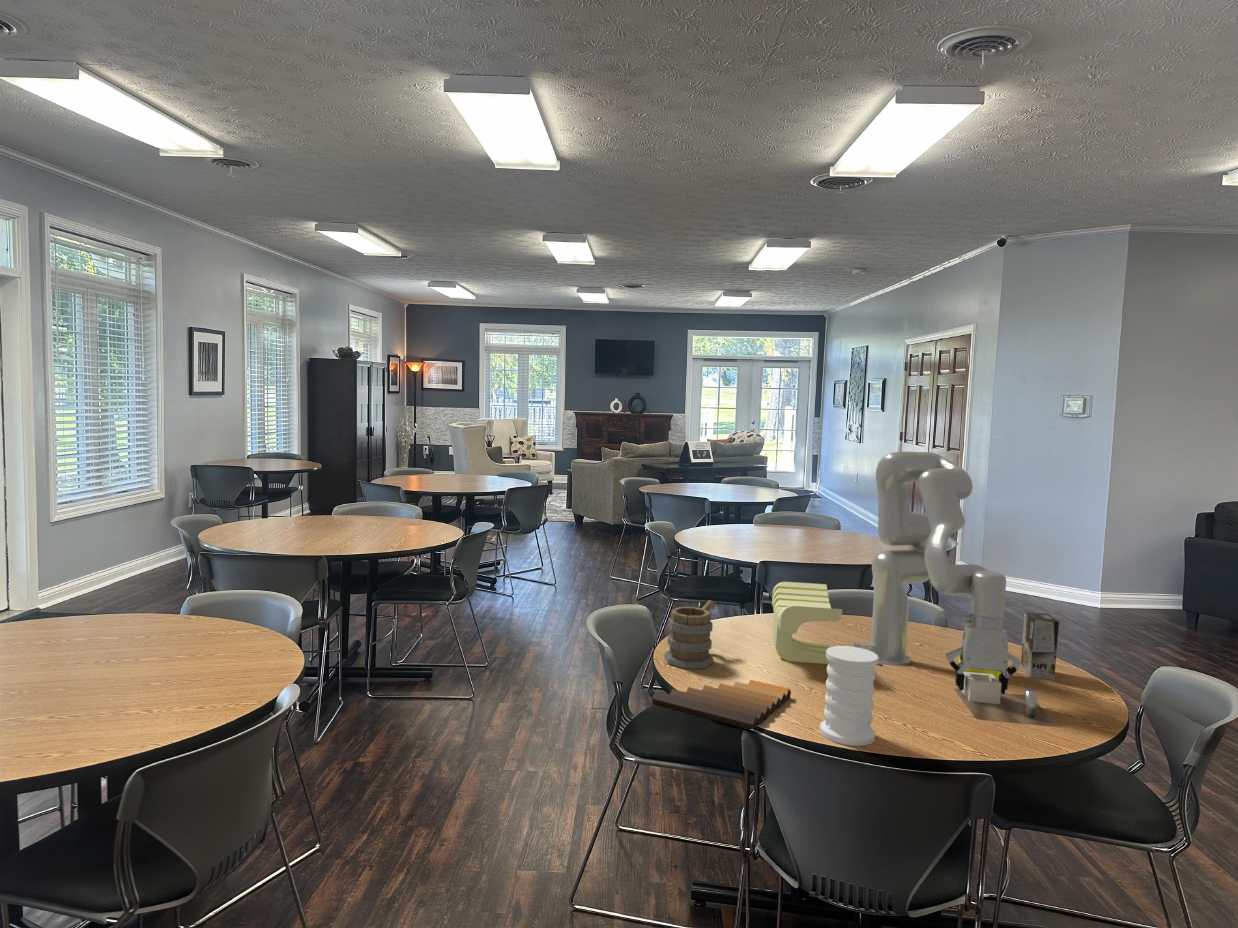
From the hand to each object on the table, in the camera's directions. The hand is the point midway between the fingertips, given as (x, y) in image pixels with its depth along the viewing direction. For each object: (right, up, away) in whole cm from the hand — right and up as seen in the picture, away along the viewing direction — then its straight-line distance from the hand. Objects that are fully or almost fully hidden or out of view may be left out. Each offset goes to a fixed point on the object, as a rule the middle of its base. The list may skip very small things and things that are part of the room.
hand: (980, 690), depth 192 cm
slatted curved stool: (-36, 0, +33) cm, 49 cm away
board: (+3, -4, -5) cm, 7 cm away
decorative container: (-39, -4, -22) cm, 45 cm away
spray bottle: (+11, -3, +21) cm, 23 cm away
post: (+6, -3, -11) cm, 13 cm away
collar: (0, -2, 0) cm, 2 cm away
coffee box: (+27, -3, +25) cm, 37 cm away
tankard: (-67, +1, +27) cm, 73 cm away
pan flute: (-64, -2, -5) cm, 64 cm away
